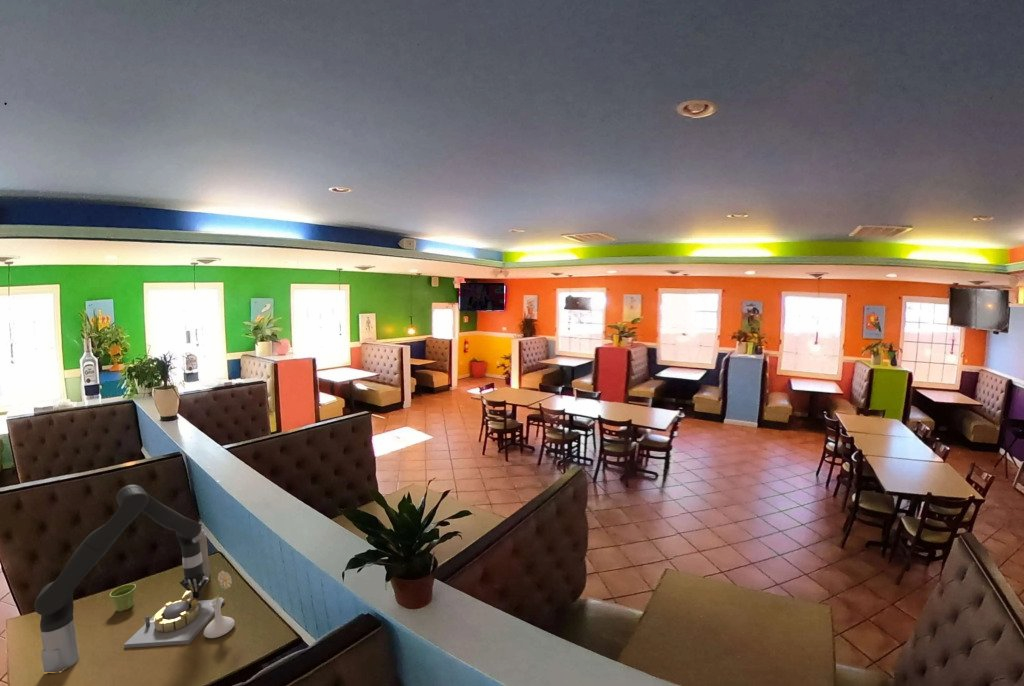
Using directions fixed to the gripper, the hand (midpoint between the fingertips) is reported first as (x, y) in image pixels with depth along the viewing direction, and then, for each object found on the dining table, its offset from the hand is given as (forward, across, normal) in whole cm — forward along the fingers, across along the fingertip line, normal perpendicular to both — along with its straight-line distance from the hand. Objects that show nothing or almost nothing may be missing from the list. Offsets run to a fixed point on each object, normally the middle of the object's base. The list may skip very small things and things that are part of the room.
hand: (197, 597), depth 215 cm
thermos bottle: (+4, +13, -22) cm, 26 cm away
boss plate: (+4, +1, +12) cm, 13 cm away
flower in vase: (+4, -21, +18) cm, 28 cm away
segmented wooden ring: (+1, +2, +9) cm, 9 cm away
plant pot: (+3, +34, -1) cm, 34 cm away
